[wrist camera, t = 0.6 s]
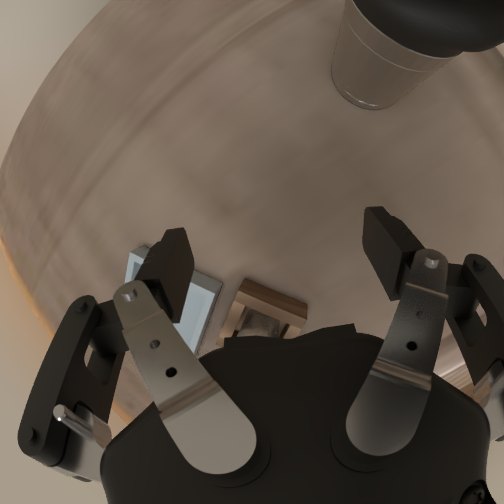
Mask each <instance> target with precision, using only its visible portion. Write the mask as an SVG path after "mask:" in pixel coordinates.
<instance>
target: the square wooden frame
mask: <svg viewBox="0 0 504 504" xmlns="http://www.w3.org/2000/svg"><path fill="white" fill-rule="evenodd" d="M251 309H254V310H256V311H259V312H261V313H263V314H266V315H268V316H270V317H273V318H275V319H278V320H280V327H279V332H278V338H284V339H292V338H295V337H297V336H298V335H299V333H300V331H301V329H302V328H303V326H304V324H305V323H306V321H307V305H306V304H304V303H301V302H299V301H297V300H294V299H292V298H289V297H287V296H285V295H282V294H280V293H278V292H275V291H273V290H271V289H268V288H266V287H264V286H262V285H259V284H257V283H255V282H252V281H250V280H248V279H246V278H245V279H244V281H243V283H242V284H241V286H240V288H239V290H238V292H237V294H236V297H235V299H234V301H233V304H232V306H231V309H230V311H229V314H228V316H227V318H226V321H225V323H224V326H223V328H222V331H221V333H220V335H219V338H218V340H217V343H216V345H218V346H220V347H224V337H237V335H238V333H239V330H240V328H241V326H242V324H243V321H244V319H245V317H246V314H247V313H248V311H250V310H251Z"/></svg>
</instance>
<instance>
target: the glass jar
mask: <svg viewBox="0 0 504 504" xmlns="http://www.w3.org/2000/svg"><path fill="white" fill-rule="evenodd" d="M279 327H280V320H278V319H275V318H273V317H270V316H268V315H266V314H263V313H261V312H259V311H256V310H254V309H251V310H250V311H248V313H247V314H246V317H245V319H244V321H243V324H242V326H241V328H240V330H239V333H238V335H237V337H240V336H254V335H258V336H266V337H275V338H278V332H279Z"/></svg>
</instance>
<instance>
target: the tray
mask: <svg viewBox="0 0 504 504" xmlns="http://www.w3.org/2000/svg"><path fill="white" fill-rule="evenodd" d="M149 250H150V248H148V247H146V246H144V245H143V246H141V247H139V248H137V249H135V250H133V251H131V252H130V255H129V260H128V266H127V272H126V278H125V283H127V282H130V281H133V280H134V278H135V276H136V275H137V273H138V271H139V269H140V267H141V265H142V263H143V261H144V259H145V257H146V255H147V253H148V252H149ZM222 284H223V283H222V282H219V281H217V280H215V279H213V278H211V277H208V276H206V275H204V274H202V273H200V272H198V271H195V270H194V272H193V275H192V279H191V282H190V286H189V290H188V293H187V297H186V301H185V305H184V308H183V312H182V316H181V320H180V323H177V324H173V325H174V327H175V328H176V330H177V331H178V332H179V334H180V335H181V337H182V338H183V340H184V341H185V342H186V344H187V345H188V347H189V348H190V349H191V351H192V352H193V354H194V355H195V356H196V355H197V352H198V349H199V346H200V344H201V341H202V338H203V335H204V333H205V330H206V327H207V325H208V322H209V319H210V317H211V314H212V311H213V308H214V306H215V303H216V300H217V298H218V295H219V292H220V290H221V287H222Z"/></svg>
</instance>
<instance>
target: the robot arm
mask: <svg viewBox="0 0 504 504" xmlns="http://www.w3.org/2000/svg"><path fill="white" fill-rule="evenodd" d="M503 42H504V0H346V3H345V9H344V14H343V18H342V23H341V27H340V32H339V36H338V41H337V45H336V49H335V53H334V57H333V62H332V67H331V74H332V79H333V82H334V84H335V86H336V88H337V89H338V91H339V92H340V93H341V94H342V95H343V96H344V97H345V98H346V99H347V100H348V101H350V102H351V103H353V104H355V105H357V106H359V107H362V108H365V109H371V110H379V109H383V108H387V107H388V106H390V105H392V104H393V103H395V102H396V101H397V100H399V99H400V98H401V97H403V96H404V95H405V94H407V93H408V92H409V91H411V90H412V89H413V88H414V87H416V86H417V85H418V84H420V83H421V82H422V81H424V80H425V79H426V78H428V77H429V76H430V75H432V74H433V73H434V72H436V71H437V70H439V69H440V68H441V67H443V66H444V65H445V64H446V63H448V62H449V61H451V60H452V59H453V58H455V57H456V56H457V55H459V54H460V53H462V52H463V51H464V52H480V51H485V50H488V49H491V48H493V47H495V46H497V45H499V44H501V43H503ZM362 242H363V248H364V251H365V253H366V255H367V257H368V259H369V260H370V262H371V264H372V266H373V268H374V270H375V272H376V273H377V275H378V277H379V279H380V281H381V283H382V285H383V287H384V289H385V291H386V293H387V295H388V297H389V299H390V301H395V300H400V302H399V305H398V307H397V310H396V313H395V315H394V318H393V321H392V323H391V326H390V328H389V331H388V333H387V335H386V338H385V340H383V339H381V338H379V337H376V336H373V335H369V334H364V333H357V332H356V329H355V326H354V323H353V324H346V325H340V326H333V327H326V328H322V329H319V330H316V331H313V332H310V333H307V334H304V335H301V336H298V337H295V338H292V339H284V338H275V337H266V336H258V335H254V336H240V337H224V347H222V348H219V349H216V350H213V351H211V352H209V353H207V354H205V355H204V356H202V357H200V358H199V359H197V358H196V356H195V355H194V354H193V352H192V351H191V349H190V348H189V347H188V345H187V344H186V342H185V341H184V340H183V338H182V337H181V335H180V334H179V332H178V331H177V330H176V328H175V327H174V325H173V324H177V323H180V320H181V316H182V312H183V308H184V305H185V301H186V297H187V293H188V290H189V286H190V282H191V279H192V275H193V272H194V258H193V254H192V251H191V248H190V244H189V241H188V238H187V234H186V231H185V229H184V228H183V227H182V228H175V229H168V230H166V232H165V234H164V236H163V238H162V239H161V241H160V242H157V243H156V244H155V245H154V246H152V247H151V248H150V250H149V252H148V253H147V255H146V257H145V259H144V261H143V263H142V265H141V267H140V269H139V271H138V273H137V275H136V276H135V278H134V280H133V281H130V282H127V283H125V284H123V285H122V286H120V287H119V288H118V289H117V290H116V292H115V293H114V296H113V300H110V301H107V302H103V303H100V304H98V303H97V301H96V300H95V298H94V297H93V296H91V295H86V296H82V297H80V298H78V299H77V300H75V301H74V302H73V303H72V304H71V305H70V307H69V308H68V310H67V312H66V314H65V316H64V318H63V320H62V322H61V324H60V326H59V328H58V330H57V332H56V334H55V336H54V338H53V340H52V342H51V344H50V347H49V349H48V351H47V353H46V355H45V358H44V360H43V362H42V365H41V367H40V369H39V372H38V374H37V377H36V379H35V382H34V385H33V387H32V390H31V393H30V395H29V398H28V401H27V404H26V407H25V410H24V414H23V416H22V420H21V423H20V427H19V430H18V444H19V447H20V448H21V450H22V452H23V453H24V454H26V455H28V456H29V457H32V458H33V459H35V460H37V461H39V462H41V463H42V464H43V465H45V466H47V467H49V468H51V469H53V470H55V471H57V472H59V473H62V474H64V475H66V476H70V477H73V478H76V479H79V480H81V481H84V482H90V481H95V482H99V483H102V484H103V487H104V490H105V493H106V497H107V501H108V504H496V502H495V501H494V499H493V498H492V496H491V494H490V492H489V490H488V488H487V484H486V464H487V456H488V450H489V444H490V443H491V442H492V441H494V440H495V441H503V440H504V280H503V278H502V277H501V276H500V274H499V273H498V272H497V270H496V269H495V268H494V267H493V265H492V264H491V263H490V262H489V261H488V260H487V259H486V258H484V257H483V256H481V255H478V254H469V255H467V256H466V257H465V260H464V263H463V265H460V264H450V263H448V261H447V259H446V257H445V256H444V255H443V254H441V253H440V252H438V251H436V250H433V249H425V247H424V246H423V245H422V244H421V243H420V241H419V240H418V239H417V238H416V237H415V235H414V234H412V232H411V231H410V229H408V227H407V226H406V225H405V224H404V223H403V221H401V220H399V219H398V218H396V217H394V216H391V215H390V214H389V213H388V212H387V211H386V210H385V209H384V207H382V206H377V207H366V209H365V212H364V226H363V237H362ZM479 303H480V304H481V306H482V308H483V309H484V311H485V313H486V316H487V323H486V326H484V324H483V323H482V321H481V319H480V317H479V315H478V314H477V312H476V309H477V307H478V305H479ZM445 318H446V320H447V322H448V324H449V326H450V328H451V330H452V333H453V335H454V337H455V339H456V341H457V344H458V346H459V348H460V350H461V353H462V355H463V358H464V360H465V362H466V365H467V368H468V370H469V373H470V375H471V378H472V381H473V384H474V386H475V388H474V391H473V399H472V398H470V397H469V396H467V395H466V394H464V393H463V392H461V391H460V390H459V389H457V388H456V387H454V386H453V385H451V384H450V383H448V382H447V381H445V380H444V379H442V378H441V377H439V376H438V375H436V374H435V373H433V370H434V366H435V362H436V358H437V354H438V350H439V346H440V341H441V337H442V332H443V326H444V321H445ZM88 345H90V346H91V347H92V349H93V351H92V354H91V357H90V360H89V363H88V365H87V367H86V365H85V362H84V356H85V353H86V350H87V347H88ZM129 350H130V353H131V355H132V357H133V359H134V362H135V364H136V366H137V368H138V370H139V372H140V374H141V377H142V379H143V381H144V383H145V385H146V387H147V389H148V391H149V393H150V395H151V397H152V398H153V400H154V401H153V402H152V403H151V404H150V405H149V406H148V407H147V408H146V409H145V410H144V411H143V412H142V413H141V414H140V415H138V416H137V417H136V418H135V419H134V420H133V421H132V422H131V423H130V424H129V425H128V426H127V427H126V428H124V429H123V430H122V431H121V432H120V433H119V434H118V435H117V436H116V437H114V438H113V439H112V435H111V430H110V428H109V426H108V425H107V424H108V419H109V414H110V410H111V405H112V401H113V397H114V393H115V389H116V385H117V381H118V377H119V373H120V369H121V366H122V362H123V358H124V355H125V351H129Z"/></svg>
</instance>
